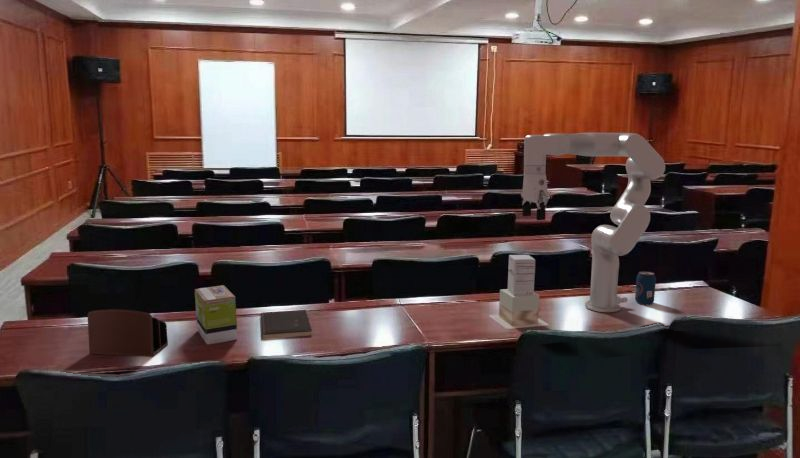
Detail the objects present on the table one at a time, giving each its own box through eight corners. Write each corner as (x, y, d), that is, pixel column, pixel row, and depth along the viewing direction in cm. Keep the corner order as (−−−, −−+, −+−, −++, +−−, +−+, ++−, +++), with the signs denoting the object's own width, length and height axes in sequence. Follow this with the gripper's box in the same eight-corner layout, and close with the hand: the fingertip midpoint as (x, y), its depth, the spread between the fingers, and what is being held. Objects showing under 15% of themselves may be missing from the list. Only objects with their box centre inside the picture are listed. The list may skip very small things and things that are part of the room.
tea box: (196, 331, 204) (193, 287, 202) (226, 326, 209) (224, 284, 207) (206, 345, 191) (203, 299, 189) (238, 340, 196) (236, 295, 194)
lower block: (524, 314, 221) (525, 301, 220) (538, 323, 212) (538, 309, 211) (499, 316, 218) (499, 303, 217) (511, 325, 209) (512, 311, 208)
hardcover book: (305, 315, 223) (305, 309, 223) (312, 337, 201) (311, 330, 201) (260, 318, 219) (260, 312, 219) (261, 340, 197) (261, 333, 197)
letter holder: (153, 357, 182) (150, 311, 179) (88, 355, 183) (85, 309, 181) (168, 345, 192) (165, 301, 189) (107, 343, 193) (103, 299, 191)
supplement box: (507, 289, 216) (508, 254, 214) (527, 289, 217) (529, 254, 215) (513, 295, 209) (514, 259, 207) (534, 295, 210) (535, 258, 208)
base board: (528, 314, 224) (528, 312, 224) (549, 327, 210) (549, 325, 210) (488, 318, 220) (488, 315, 220) (506, 331, 206) (506, 328, 206)
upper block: (525, 301, 220) (525, 287, 219) (538, 309, 211) (539, 295, 210) (499, 303, 217) (500, 289, 217) (512, 311, 208) (512, 297, 207)
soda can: (631, 300, 243) (633, 270, 241) (648, 300, 244) (650, 270, 242) (640, 305, 237) (642, 275, 235) (657, 305, 237) (659, 274, 235)
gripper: (557, 171, 211) (556, 220, 214) (531, 167, 227) (530, 213, 230) (537, 172, 209) (536, 222, 212) (513, 168, 225) (512, 215, 228)
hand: (533, 217), depth 221 cm, fingers open, 9 cm apart
